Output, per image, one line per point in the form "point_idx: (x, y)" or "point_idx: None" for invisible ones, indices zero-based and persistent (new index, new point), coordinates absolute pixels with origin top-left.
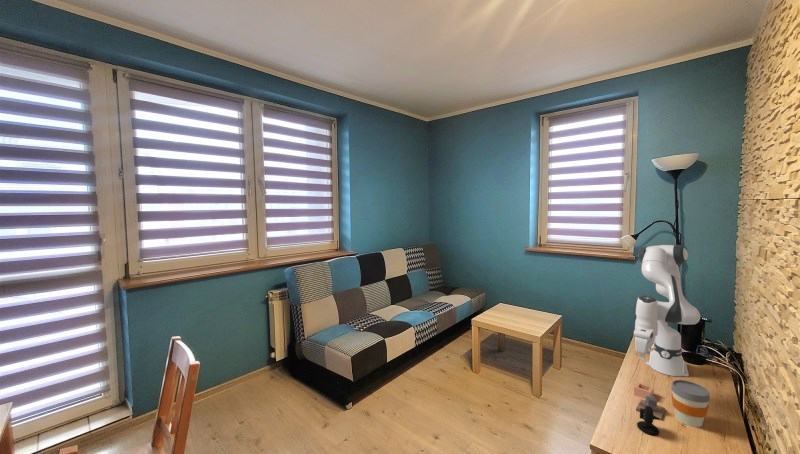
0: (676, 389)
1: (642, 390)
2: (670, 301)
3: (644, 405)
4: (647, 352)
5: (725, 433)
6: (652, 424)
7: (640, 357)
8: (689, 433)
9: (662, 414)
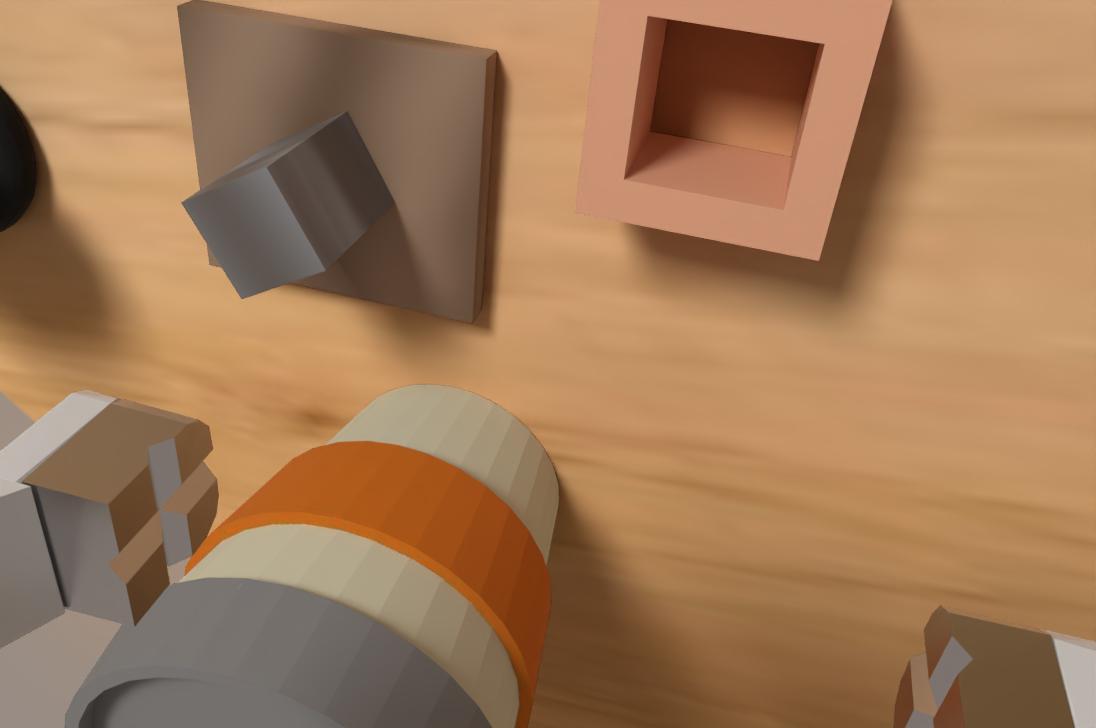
0: (104, 658)
1: (591, 92)
2: None
3: (343, 102)
4: (939, 722)
5: None
6: (2, 186)
7: (31, 442)
8: (221, 445)
9: (300, 284)
